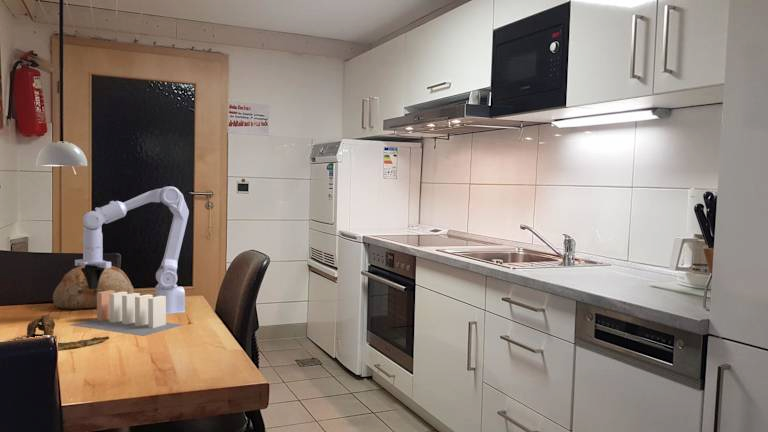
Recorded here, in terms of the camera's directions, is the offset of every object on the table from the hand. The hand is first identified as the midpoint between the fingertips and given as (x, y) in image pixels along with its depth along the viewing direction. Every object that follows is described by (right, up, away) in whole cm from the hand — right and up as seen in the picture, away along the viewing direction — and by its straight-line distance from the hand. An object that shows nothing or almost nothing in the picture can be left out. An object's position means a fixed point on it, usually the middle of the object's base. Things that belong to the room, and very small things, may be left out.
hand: (93, 288), depth 188 cm
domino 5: (+26, -10, -11) cm, 30 cm away
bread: (-11, -9, +23) cm, 27 cm away
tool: (+8, -12, -33) cm, 36 cm away
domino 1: (+5, -10, -2) cm, 11 cm away
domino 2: (+10, -10, -4) cm, 15 cm away
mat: (+16, -11, -10) cm, 21 cm away
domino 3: (+15, -10, -6) cm, 19 cm away
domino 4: (+21, -10, -9) cm, 24 cm away
